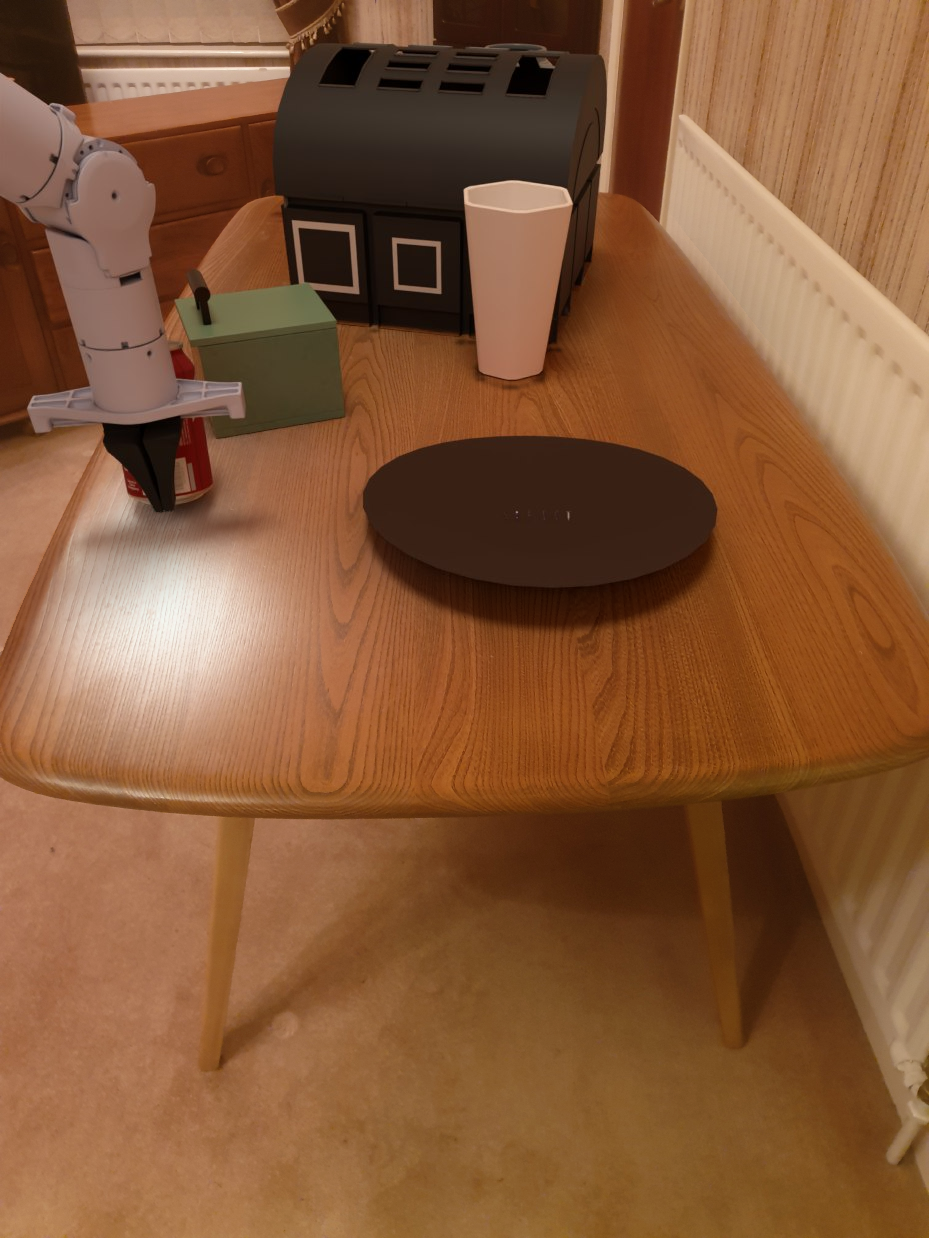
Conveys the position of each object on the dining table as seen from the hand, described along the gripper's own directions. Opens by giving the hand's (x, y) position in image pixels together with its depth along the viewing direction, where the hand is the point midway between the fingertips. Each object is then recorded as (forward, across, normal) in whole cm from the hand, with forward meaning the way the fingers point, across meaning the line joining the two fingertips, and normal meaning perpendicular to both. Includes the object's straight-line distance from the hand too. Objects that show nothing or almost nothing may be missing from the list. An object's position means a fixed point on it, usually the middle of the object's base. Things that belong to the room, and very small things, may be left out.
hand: (165, 505), depth 67 cm
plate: (+3, -29, +2) cm, 29 cm away
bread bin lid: (-6, -7, -22) cm, 24 cm away
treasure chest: (+3, -31, -52) cm, 61 cm away
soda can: (+2, 0, -4) cm, 4 cm away
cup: (+3, -33, -27) cm, 43 cm away
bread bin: (+3, -8, -22) cm, 23 cm away
